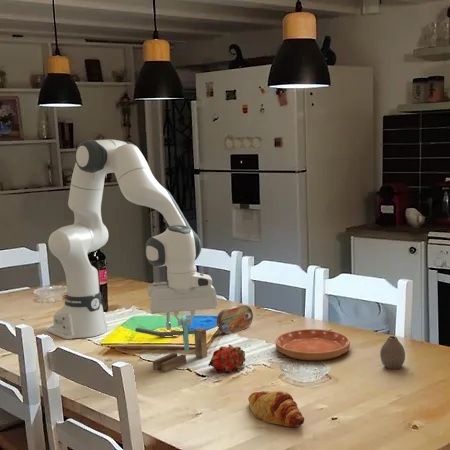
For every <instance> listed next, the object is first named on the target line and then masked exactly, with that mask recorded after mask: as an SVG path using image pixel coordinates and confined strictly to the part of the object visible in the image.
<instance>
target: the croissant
mask: <svg viewBox="0 0 450 450" xmlns="http://www.w3.org/2000/svg"><path fill="white" fill-rule="evenodd" d="M248 403H249V409H250V410H251V412H252V413H253V415H254V417H255V418H256V419H260V420H262V421H263V422H266V423H268V424H274V425H280V426H283V427H289V428H297V427H298V426H302V425H303V424H304V422H305V417H304V416H303V413H302V412H301V411H300V409H299V408H298V403H297V402H296V401H295V400H294V398H293V396H292V394H290V393H288V391H283V390H278V391H275V390H274V391H269V390H267V391H266V390H264V391H263V390H262V391H255V392H252V393H250V394H249V395H248Z"/></svg>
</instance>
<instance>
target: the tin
mask: <svg viewBox="0 0 450 450" xmlns="http://www.w3.org/2000/svg"><path fill="white" fill-rule="evenodd" d="M253 318H254V314H253V310H252V309H251V307H250V306H249V305H247V304H238V305H236V306H235V305H234V306H232V307H231V306H230V307H229V308H225V309H222V310H221V311H220V312H219V313H218V314H217V317H216V326H218V327H219V329H218V330H219V331H220V332H221V333H223V334H227V335H231V334H233V333H237V332H240V331H242V330H243V331H244V330H246V329H249V327H250V326H251V324H252V322H253ZM218 327H217V328H218Z"/></svg>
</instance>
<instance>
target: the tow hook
mask: <svg viewBox="0 0 450 450" xmlns="http://www.w3.org/2000/svg"><path fill="white" fill-rule="evenodd" d="M170 314H171V312H166V313H165V317H166V319H165V321H166V322H165V329H167V330H170V329H171V328H172V325H171V315H170Z"/></svg>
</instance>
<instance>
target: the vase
mask: <svg viewBox="0 0 450 450" xmlns="http://www.w3.org/2000/svg"><path fill="white" fill-rule="evenodd" d="M379 354H380V356H379V357H380V361H381V363H382V364H383V366H384V367H385V368H387V369H390V370H397V369H400V368H402V366H403V365H404V363H405V360H406V351H405V347H404V346H403V344H402V343H401V342H400V341H399V340H398V337H397V336H395V335H389V336H387V339H386V340H385V341H384V343H383V344H382V345H381V348H380V353H379Z"/></svg>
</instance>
